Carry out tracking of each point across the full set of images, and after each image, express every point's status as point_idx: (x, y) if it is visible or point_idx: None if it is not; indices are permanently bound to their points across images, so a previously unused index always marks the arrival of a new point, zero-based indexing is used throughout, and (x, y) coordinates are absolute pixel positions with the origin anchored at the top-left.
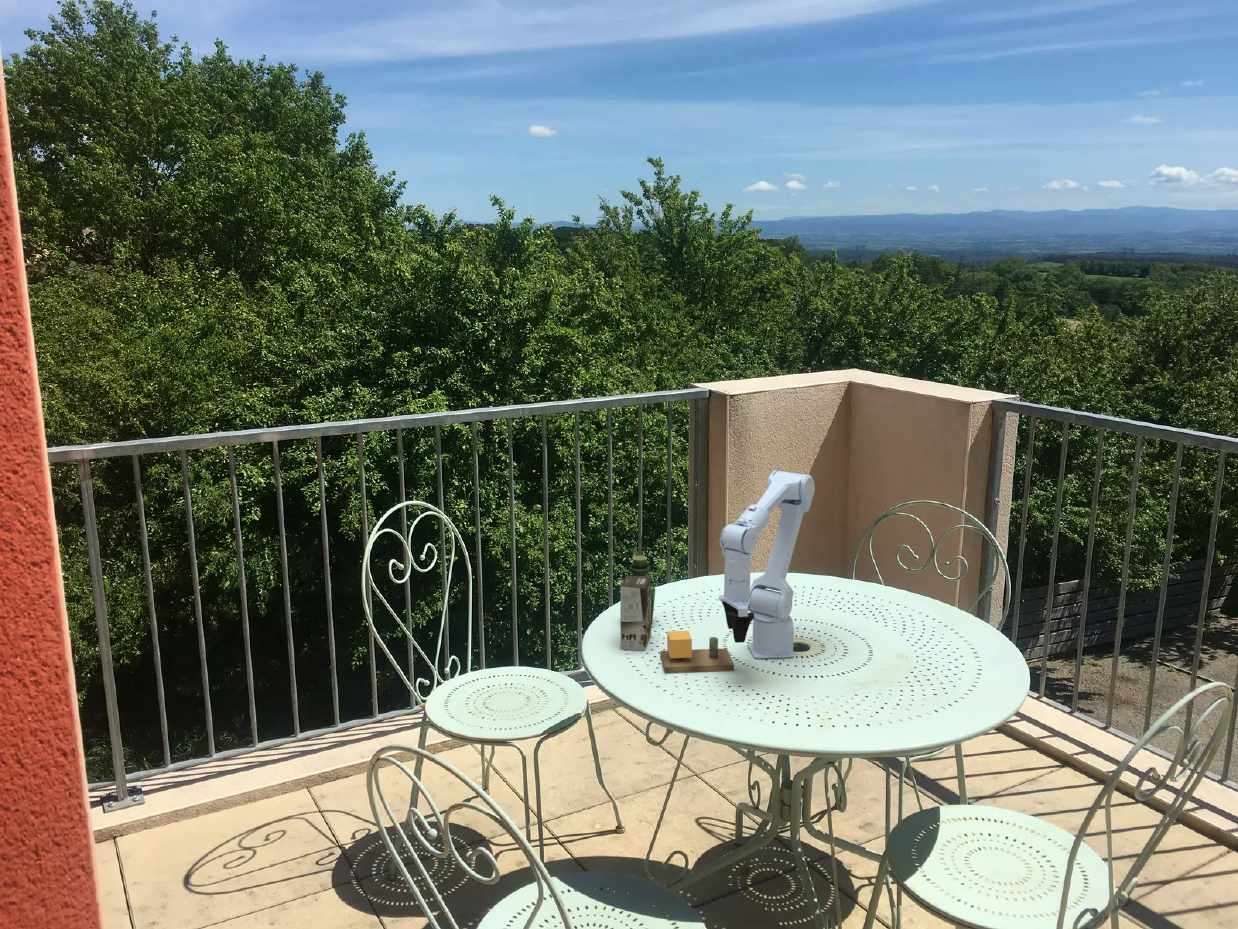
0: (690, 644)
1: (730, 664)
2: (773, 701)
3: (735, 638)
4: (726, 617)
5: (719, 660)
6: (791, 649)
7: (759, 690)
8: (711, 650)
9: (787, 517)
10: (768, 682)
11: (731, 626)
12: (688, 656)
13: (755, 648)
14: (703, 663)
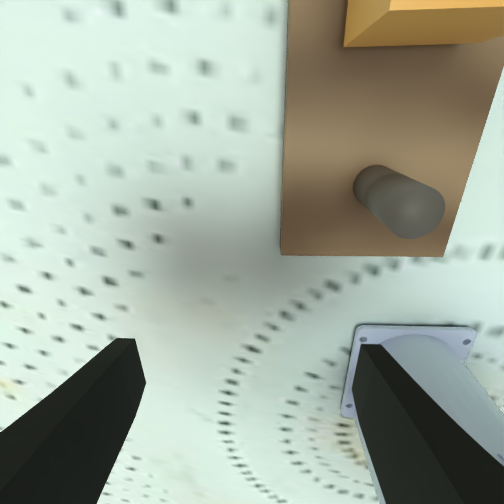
0: (373, 11)
1: (283, 242)
2: (68, 311)
3: (91, 363)
4: (417, 419)
5: (331, 205)
6: (358, 428)
7: (133, 291)
8: (372, 181)
9: None
10: (189, 324)
11: (365, 374)
12: (347, 21)
13: (400, 348)
14: (312, 122)
